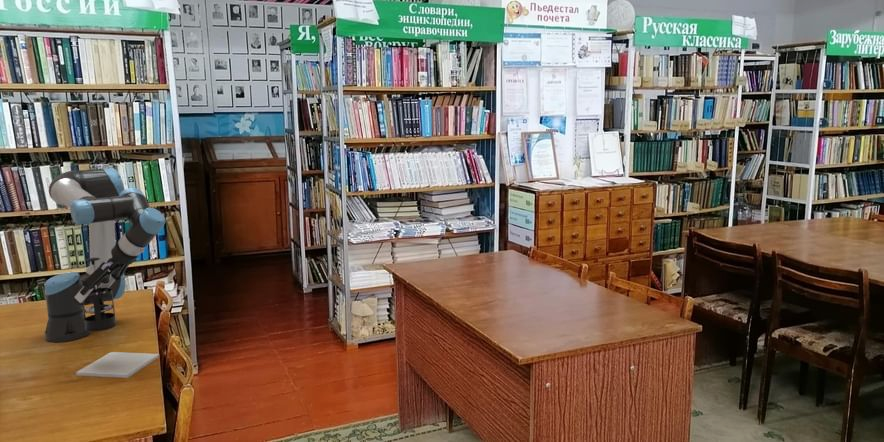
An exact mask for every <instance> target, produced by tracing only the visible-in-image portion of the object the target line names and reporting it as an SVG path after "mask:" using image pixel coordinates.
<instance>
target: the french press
mask: <svg viewBox="0 0 884 442" xmlns="http://www.w3.org/2000/svg"><path fill="white" fill-rule="evenodd" d="M99 259H100V258H90V257H89V258H86V259H85V262H90V261H91V264H92V265H93V272H94V271H95V270H94V264H95V261H96V260H99ZM89 276H90V275H87V276H83V277H81V278H79V280H80V281H81V285H82V283H83V281H85V280H86V279H87V278H88V277H89ZM109 277H110V275H107V276H106V277H105V278H104V279H102V280H101V281H100V282H101V283H104V284H107V283H109ZM82 286H83V285H82ZM95 287H96V289H93V290H92V291H91V292H90V294H91V293H95V292H96V295H88V296H87V297H86V298H85V299H93V304H92V305H90V306H88V307H85V306H84V301H83V302H82V304H83V313H84V319H85V330H86V331H91V332H100V331H106V330H110V329H112V328H115V327H117V325H118V322H117V321H116V318H117V317H116V312H115V311H116V310H115V303H114V300H113V294H112V289H111V288H102V287H100V288H97V285H96V286H95ZM102 292H106V293H103V294H102ZM110 295H111V296H112V301H111V302H112V304H109V303H107V304H106V303H104V302H103V297H107V296H110ZM111 310H112V311H113V312H108V311H111ZM86 314H90V315H88V316H86ZM91 314H92V315H91Z"/></svg>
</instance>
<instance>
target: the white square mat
mask: <svg viewBox="0 0 884 442" xmlns="http://www.w3.org/2000/svg"><path fill="white" fill-rule="evenodd" d="M159 357H160V353H147V352H145V353H144V352H143V353H141V352H120V351H110V352H108V353H107V354H105V355H103V356H102V357H100V358H98V359H97V360H95V361H93V362H92V363H90V364H88V365H86V366H84V367H83V368H81V369H79V370H78V371H76V372H75V376H78V377H79V376H82V377H100V378H122V379H123V378H124V379H128V378H130V377H131V376H133V375H134V374H136V373H137V372H139V371H140V370H142V369H143V368H145V367H146V366H148V365H149V364H150V363H152V362H154V361H155V360H156V359H158V358H159Z"/></svg>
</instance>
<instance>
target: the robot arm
mask: <svg viewBox="0 0 884 442" xmlns="http://www.w3.org/2000/svg"><path fill="white" fill-rule="evenodd" d="M48 194H49V197H50V198H51V200H53V201H54V202H55V203H56V204H58V205H60V206H64V207H66V208H68V209H70V211H69V212H70V215H71V216H70V217H71V219H72V222H73V223H74V224H76V225H88V232H89V233H88V234H89V235H88V238H89V239H88V241H89V258H100V259H99V260H96V261H95V264H94V270H95V271H94V272H93V265H92V264H91V261H89V266H87V267H86V269H85V274H82V275H80V273H79V272H77V271H76V272H75V271H71V272H64V273H60V274H57V275H54V276H52V277H50V278H49V279H47V280H46V281H45V282H44V295H45V301H46V309H47V317H48V318H47V322H46V327H45V332H44V338H45V341H46V342H51V343H64V342H71V341H75V340H79V339H82V338H85V337H87V336H88V335H90V334H91V333H92V331H86V330H85V319H84V312H83V304H82V302H83V301H84V307H85V306H88V305H90V306H91V305H93V299H85V298H86V297H87V296H88V295H96V292H95V293H91V294H90V292H91V291H92V290H93V289H96V287H95V286H96V285H97V288H100V287H102V288H111V289H112V294H113V301H115V300H118V299H121V298H122V297H123V295H125V290H126V280H125V279H126V276H125V272H126V270H127V269H128V267H129V266H130V265H132V264H133V263H134V262H135V261H136V259H137V258H138V257H139V255H140V254H143V253H144V252H145V248H146V247H147V246H149V244H150V243H151V242H152V240H153V239H154V238H155V237H156V236H157V235H158V234H159V233H160V232H161V230H162V228H163V227H165V224H166V218H165V215H164V214H163V213H162V212H161V211H160V210H158V209H157V208H154V207H150V204H149V201H148V199H147V197H146V196H145V193H143V192H142V190H141V189H140V188H137V187H128V188H127V189H125V186H124V182H123V179H122V176H121V175H120V173H119V172H118V170H117V169H116V168H103V167H102V168H94V169H93V168H91V169H82V170H70V171H69V170H68V171H65V172H62V173H61V174H58V175H57V176H55V177H54V178H53V179H52V180H51V182H50V184H49V185H48ZM121 220H128V222H129V224H130V226H129V228H128V229H127V230H126V231H125V233H124V234H123V235H122V236H121V237H120V238H119V240H118V242H117V243H116V236H115V235H116V233H115V232H116V231H115V229H116V225H115V222H116V221H121ZM87 275H90V276H89V277H88V278H87V279H86V280H85V281H83V283H82V285H83V286H82V285H81V281H80V280H79V278H81V277H83V276H87ZM107 275H110V277H109V283H107V284H104V283H101V282H100V281H101V280H102V279H104V278H105V277H106V276H107ZM103 293H106V292H102V294H103ZM103 302H112V296H111V295H110V296H107V297H103Z"/></svg>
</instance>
